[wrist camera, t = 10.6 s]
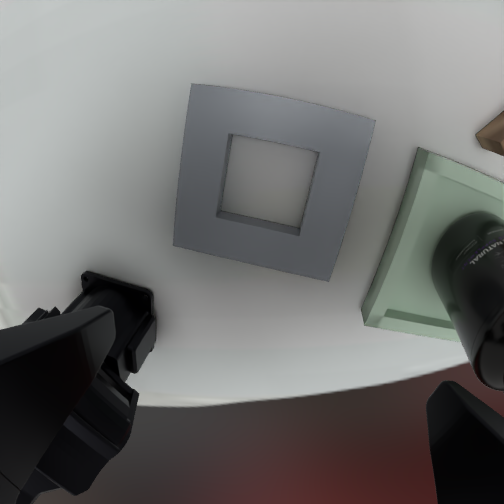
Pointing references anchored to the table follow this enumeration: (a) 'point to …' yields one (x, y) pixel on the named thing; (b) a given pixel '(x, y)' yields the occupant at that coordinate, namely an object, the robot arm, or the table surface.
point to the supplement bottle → (475, 290)
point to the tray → (426, 244)
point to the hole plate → (281, 131)
